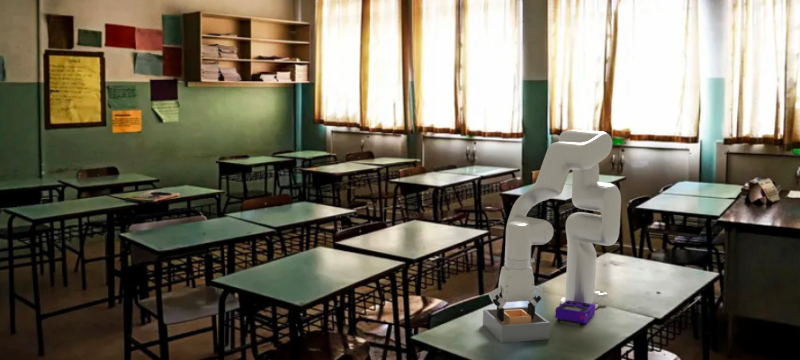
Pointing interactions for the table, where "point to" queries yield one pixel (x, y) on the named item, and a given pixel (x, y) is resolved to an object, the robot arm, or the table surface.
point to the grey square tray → (516, 327)
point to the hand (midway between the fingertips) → (515, 318)
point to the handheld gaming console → (574, 312)
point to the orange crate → (516, 317)
